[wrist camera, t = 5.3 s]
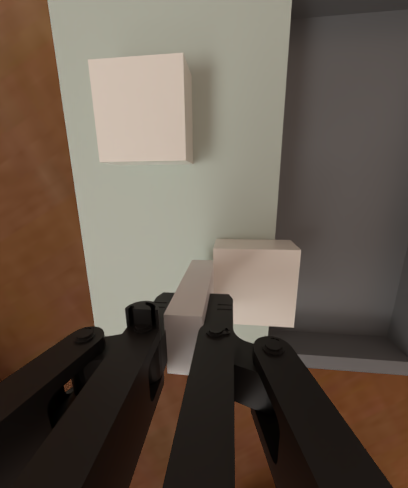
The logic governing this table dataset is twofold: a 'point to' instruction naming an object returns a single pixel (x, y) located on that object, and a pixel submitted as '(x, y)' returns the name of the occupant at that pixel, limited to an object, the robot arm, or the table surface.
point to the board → (204, 141)
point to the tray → (347, 183)
